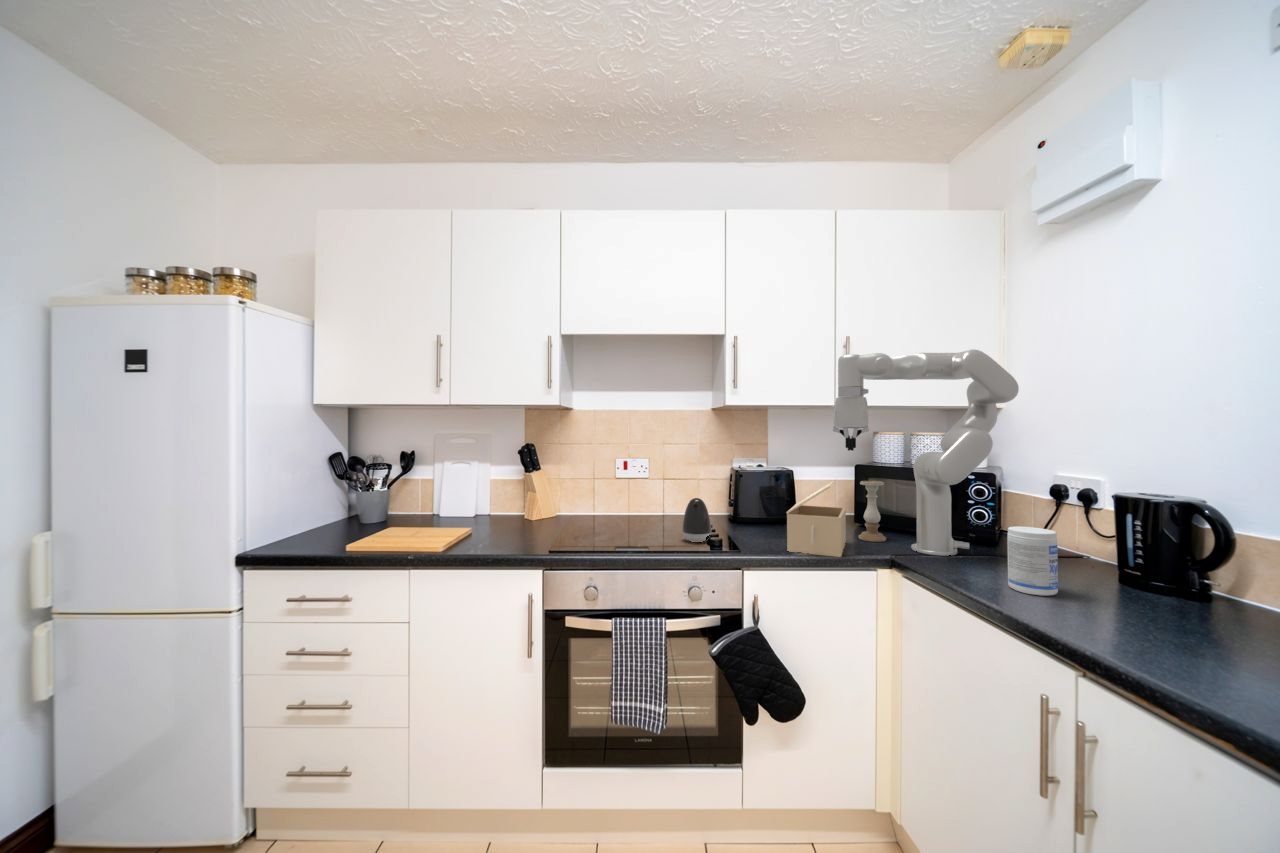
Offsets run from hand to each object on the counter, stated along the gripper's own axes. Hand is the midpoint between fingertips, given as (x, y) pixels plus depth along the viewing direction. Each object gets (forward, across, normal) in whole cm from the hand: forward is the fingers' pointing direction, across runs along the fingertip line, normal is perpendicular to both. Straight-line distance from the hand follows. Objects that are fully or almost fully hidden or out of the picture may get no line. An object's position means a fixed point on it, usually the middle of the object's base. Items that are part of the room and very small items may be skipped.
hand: (850, 450), depth 159 cm
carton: (+32, +10, +2) cm, 34 cm away
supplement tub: (+32, -42, +23) cm, 58 cm away
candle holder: (+32, -6, -20) cm, 39 cm away
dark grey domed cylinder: (+33, +49, +9) cm, 60 cm away
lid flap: (+16, +12, 0) cm, 20 cm away
